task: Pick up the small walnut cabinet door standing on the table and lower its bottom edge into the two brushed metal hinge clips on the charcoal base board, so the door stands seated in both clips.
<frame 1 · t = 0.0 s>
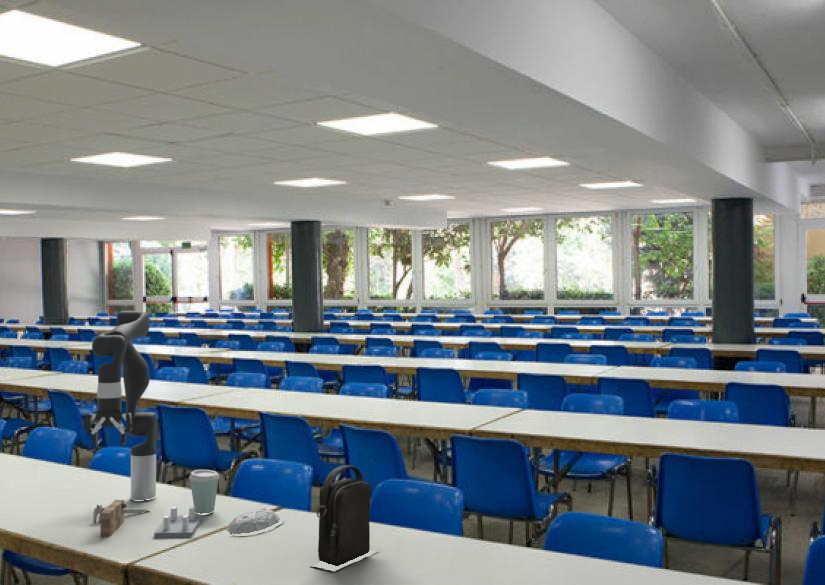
hand: (109, 445, 258), 29 cm above the table, tool pointing down, fingers open, 8 cm apart
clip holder: (179, 528, 265), on the table
disposable coffee cup: (204, 513, 283), on the table
oval brooch: (254, 528, 267), on the table
caliper: (122, 518, 278), on the table
cabinet door: (112, 530, 263), on the table
shoulder bag: (345, 560, 235), on the table
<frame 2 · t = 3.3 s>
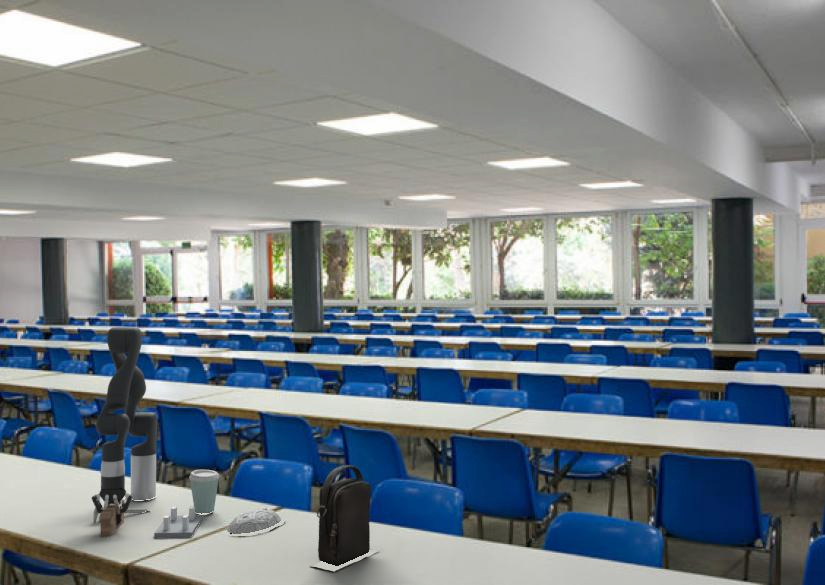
hand: (112, 524, 263), 2 cm above the table, tool pointing down, fingers closed on cabinet door, 3 cm apart
cabinet door: (112, 529, 263), on the table, touching gripper
everything else where it was.
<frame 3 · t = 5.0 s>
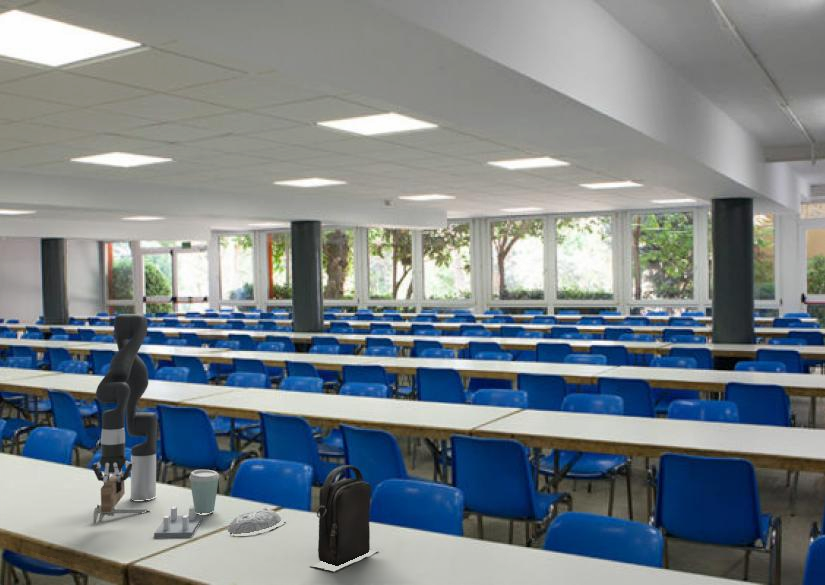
hand: (112, 492, 263), 12 cm above the table, tool pointing down, fingers closed on cabinet door, 3 cm apart
cabinet door: (113, 502, 264), point 9 cm above the table, tilted 7°, touching gripper
everything else where it was.
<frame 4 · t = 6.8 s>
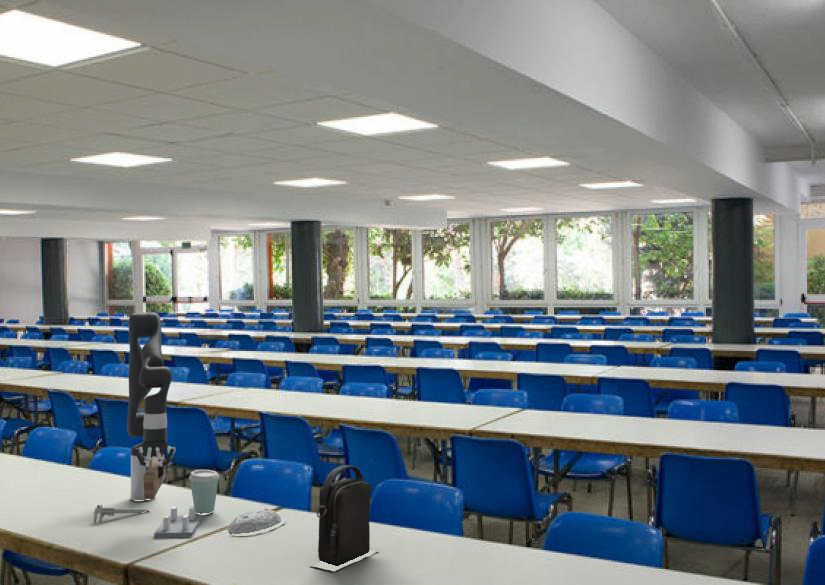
hand: (155, 477, 264), 17 cm above the table, tool pointing down, fingers closed on cabinet door, 3 cm apart
cabinet door: (155, 487, 265), point 14 cm above the table, tilted 14°, touching gripper
everything else where it was.
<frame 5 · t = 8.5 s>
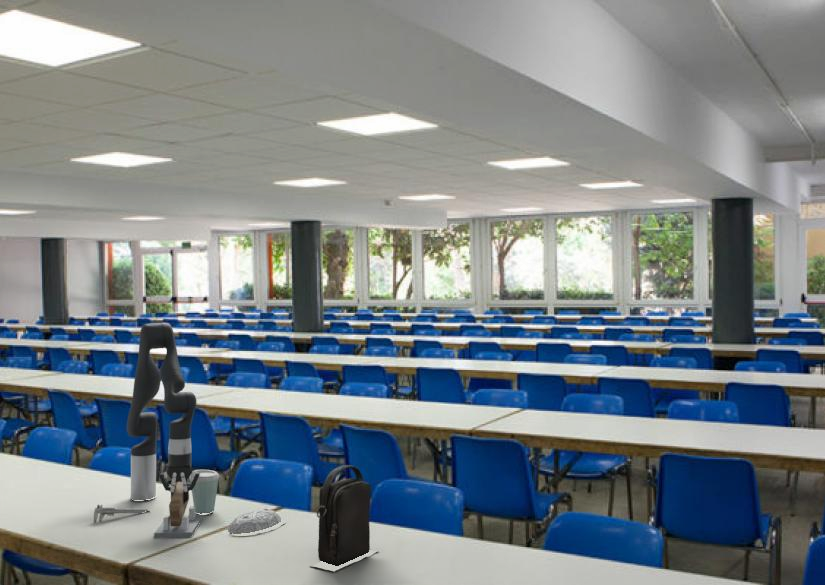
hand: (179, 502, 265), 9 cm above the table, tool pointing down, fingers closed on cabinet door, 3 cm apart
cabinet door: (180, 512, 266), point 5 cm above the table, tilted 19°, touching gripper
everything else where it was.
when the fingers open (5 cm above the table, at t = 10.1 s): cabinet door stays where it is, resting on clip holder.
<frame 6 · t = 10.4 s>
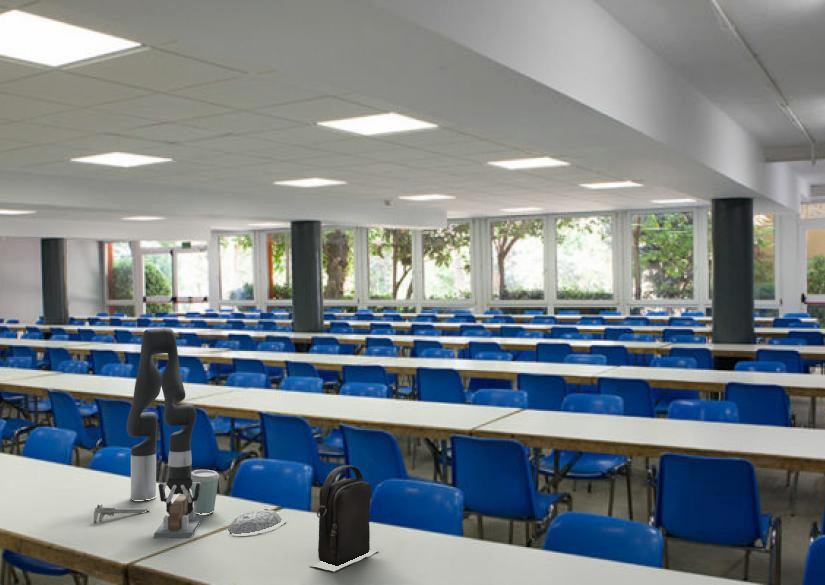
hand: (179, 513, 265), 5 cm above the table, tool pointing down, fingers open, 6 cm apart
cabinet door: (179, 524, 264), point 1 cm above the table, touching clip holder
everything else where it was.
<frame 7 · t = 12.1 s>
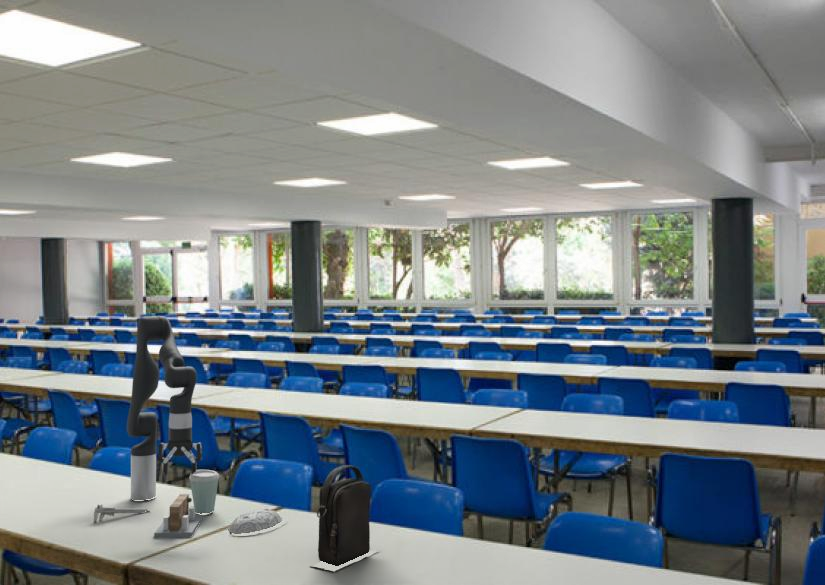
hand: (179, 473, 265), 18 cm above the table, tool pointing down, fingers open, 8 cm apart
nothing on the table moved.
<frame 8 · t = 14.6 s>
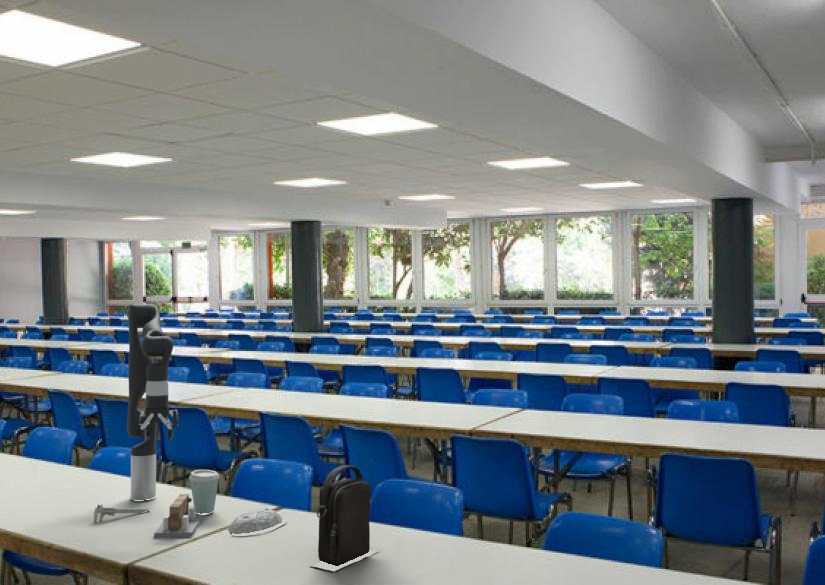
hand: (156, 439, 274), 28 cm above the table, tool pointing down, fingers open, 8 cm apart
nothing on the table moved.
at the end: cabinet door 0.3 cm off-centre on the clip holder, point 1.5 cm above the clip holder's base; cabinet door tilted 0°; the gripper is holding nothing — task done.
